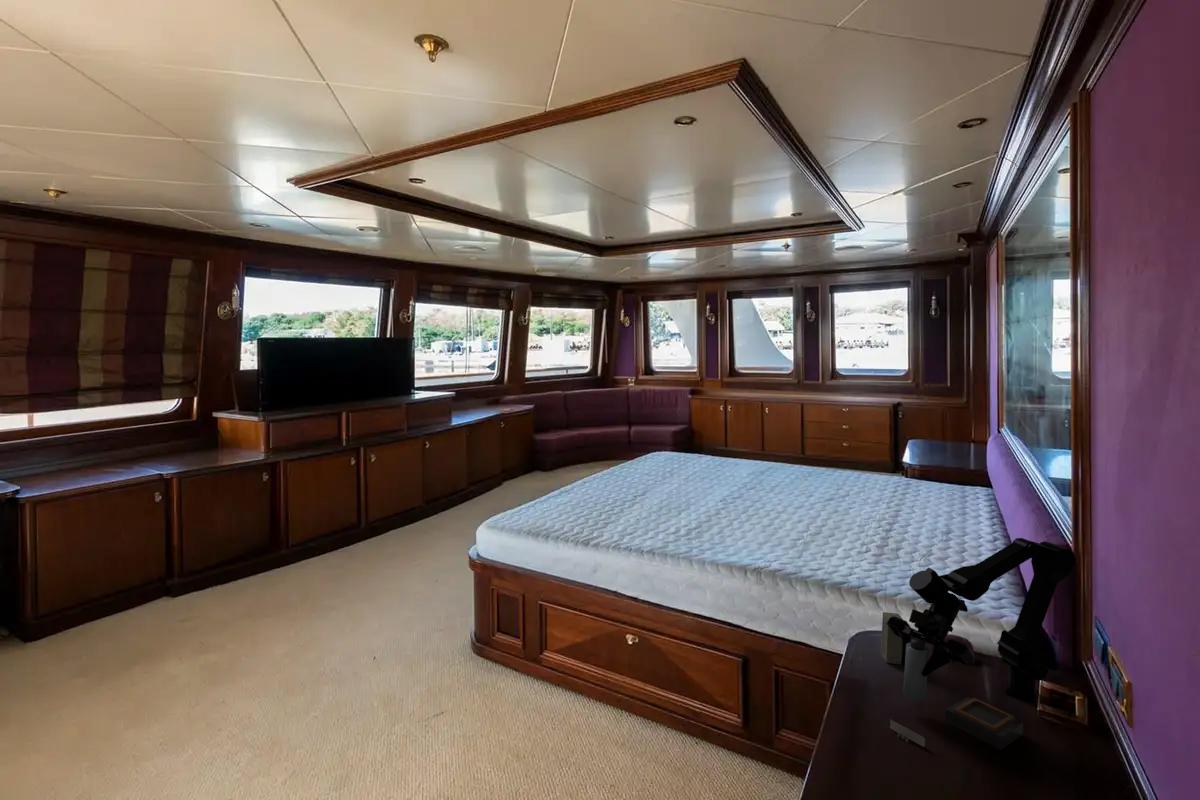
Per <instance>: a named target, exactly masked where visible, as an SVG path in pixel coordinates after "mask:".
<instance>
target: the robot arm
mask: <svg viewBox="0 0 1200 800" xmlns="http://www.w3.org/2000/svg"><path fill="white" fill-rule="evenodd" d="M1030 559H1031V561H1030V562H1031V568H1032V571H1033V576H1032V579H1031V582H1030V585H1029V587H1028V590H1027V593H1026V594H1025V598H1024V601H1023V603H1022V606H1021V609H1020V612H1019V614H1018V617H1017V620H1016V622H1015V626H1013V627H1012V628H1011V629H1009V630H1006V629H1003V630H1002V631H1001V633H1000V638H999V640H998V641H997V643H996V644H997V645H998V646H997V652H998V653H999V656H1001V661H1002V663H1003V664H1006V665H1008V667H1009V677H1008V678H1009V679H1008V683H1007V685H1006V687H1005V690H1004V694H1007V695H1010V696H1012V697H1016V698H1019V699H1022V700H1025V701H1027V702H1031V703H1033V704H1034V703H1035V704H1036V703H1037V700H1038V697H1039V695H1040V691H1039V690H1038V689H1037V683H1038V681H1042V679H1046V678H1047V676H1048V673H1049V669H1048V668H1047V667H1046V666H1045V665H1044V664H1043V663H1042V662H1041V660H1040V657H1041V651H1042V649H1041V644H1040V640H1039V634H1040V632H1041V628H1042V627H1043V623H1044V620H1045V618H1046V615H1047V613H1048V610H1049V607H1050V605H1051V601H1052V598H1053V596H1054V593H1055V592H1056V588H1057V586H1058V584H1059V582H1061V581H1063V580H1064V579H1067V577H1069V576H1070V573H1071V572H1072V570H1073V569H1074V566H1075V564H1076V561H1077V560H1076V556H1075V554H1074V552H1073V551H1072V550H1070V549H1069V548H1066V547H1063V546H1060V545H1058V544H1055V543H1052V542H1049V541H1046V540H1045V541H1041V542H1040V543H1039V542H1037V541H1032V540H1028V539H1027V538H1026V539H1025V538H1024V537H1018V538H1014V540H1013V541H1012V542H1011V543H1010V544H1008V545H1007V546H1004V547H1003V548H1001V549H1000V550H998V551H997V552H995V553H993V554H992V555H990V556H988V557H987V558H985V559H984V560H982V561H979V563H976V564H973V565H966V566H965V565H964V566H961V567H959V568H956V569H954V570H952V571H950V572H949V573H947V574H942V575H939V574H938V572H936V571H935V570H934V568H931V567H927V568H926V569H925V570H920V571H917V572H916V573H913V574H912V575H911V576H910V578H909V581H908V584H909V587H911V589H912V590H913V591H914V592H915V593H917V595H919V597H920V598H922V600H924V602H925V603H927V604H930V607H929V608H928V609H926V608H925V609H924V610H923V611H919V610H917V609H914V608H912V610H911V613H910V616H909V619H908V621H907V620H905V619H903V618H902V619H903V620H902V619H900V618H897V617H895V616H893V617H890V618H889V620H888V621H887V623H886V624H887V625H888V627H889V628H890V629H891V631H892V632H893V633H894V634H895V635H896V636H898V637H900V638H902V644H903V647H902V658H901V664H900V665H901V667H903V668H905V655H906V644H907V643H911V639H912V638H917V639H921V640H923V641H924V642H925V644H928V645H931V646H933V648H932V654H931V655H930V657H929V658H928V662H927V664H926V666H925V668H924V670H923V672H922V675H923V676H924V677H926V676H927V677H928V676H929V675H930V674H932V673H934V672H935V671H936V670H938V669H940V668H941V667H944V666H945V665H947V664H954V663H955V661H956V663H958V664H961V665H963V666H965V667H969V668H970V667H971V666H972V664H973V663H972V662H973V655H972V654H971V652H970V651H969V649H968V647H967V646H966V645H965V644H962V643H960V642H957V641H955V640H952V639H950V640H948V642H945V641H944V640H945V638H946V636H947V634H949V632H950V633H953V630H954V627H953V624H954V623H955V620H956V618H957V616H958V613H959V612H965V613H967V612H968V611H969V610H968V606H967V604H966V602H965V601H966V600H967V601H971V602H973V601H977V600H979V599H980V598H981V597H982V596H984V594H986V593H987V592H988V591H989V589H990V587H991V584H992V583H993V582H994V581H996V580H997V579H999V578H1001V577H1002V576H1004V575H1006V574H1008V573H1010V571H1012V570H1014V569H1016V568H1017V567H1018V566H1019V567H1020V565H1022V564H1024V563H1025V562H1027V561H1028V560H1030ZM959 597H961V598H964V599H965V600H964V599H961V598H959ZM908 622H909V623H912V624H913V626H914V627H915V629H914V628H912V627H911V626H910V624H909V623H908ZM954 659H955V660H954Z"/></svg>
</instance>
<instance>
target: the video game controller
mask: <svg viewBox="0 0 1200 800" xmlns="http://www.w3.org/2000/svg"><path fill="white" fill-rule="evenodd" d="M950 639H952V640H955V641H957V642H960V643H962V644H965V645H966V646H967V647H968V649H969V651H970V652H971V654H972V655H973V662H972V664H974V663H975V661H976V657H975V650H974V647H973V646H974V645H973V644H972V642H971V641H970V640H969V639H968V638H966V637H963V636H960V635H957V634H949V633H948V634H947V636H946V638H945V640H944V641H945V642H948V640H950Z"/></svg>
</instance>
